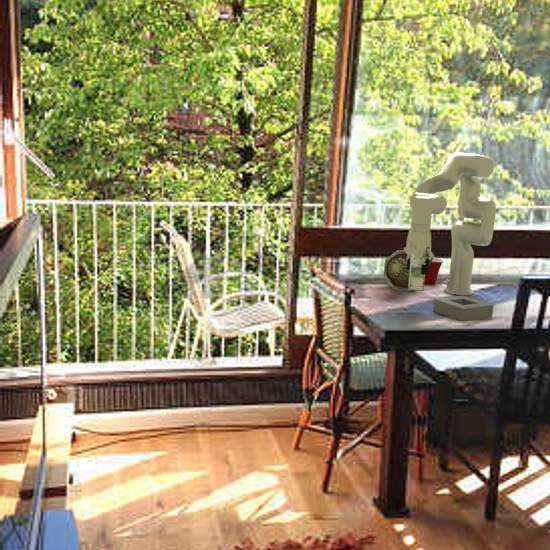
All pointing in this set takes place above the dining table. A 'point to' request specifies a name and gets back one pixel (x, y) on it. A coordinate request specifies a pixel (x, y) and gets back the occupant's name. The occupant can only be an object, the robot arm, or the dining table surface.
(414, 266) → the syrup box
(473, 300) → the socket stand
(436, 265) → the plastic cup
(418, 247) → the robot arm
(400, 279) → the potted plant
